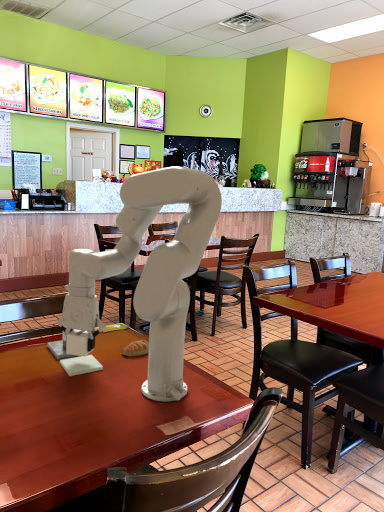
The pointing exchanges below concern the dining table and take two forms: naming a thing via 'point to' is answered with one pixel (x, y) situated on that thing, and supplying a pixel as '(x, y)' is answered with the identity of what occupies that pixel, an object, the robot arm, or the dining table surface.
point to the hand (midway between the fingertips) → (80, 348)
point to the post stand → (59, 348)
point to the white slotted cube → (77, 343)
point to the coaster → (80, 365)
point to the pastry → (136, 348)
